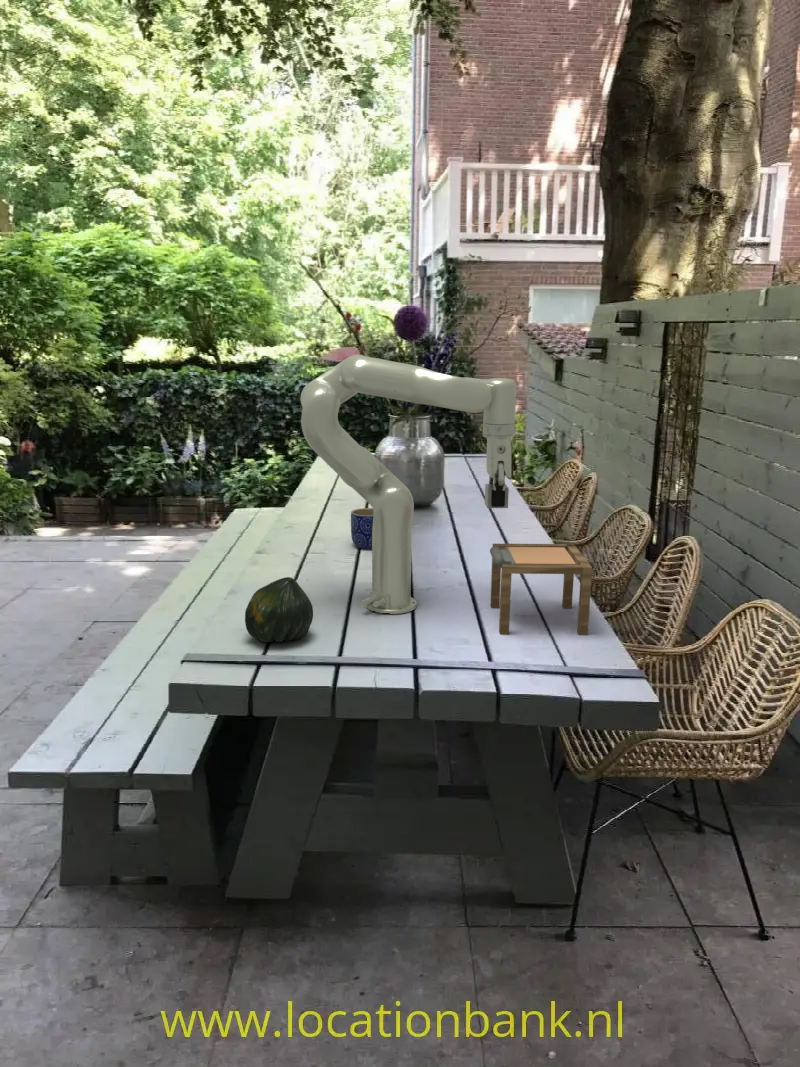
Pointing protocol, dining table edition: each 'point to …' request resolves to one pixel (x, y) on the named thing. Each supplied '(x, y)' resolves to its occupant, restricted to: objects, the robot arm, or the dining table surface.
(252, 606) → the squash
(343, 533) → the dining table surface
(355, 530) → the planter
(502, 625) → the frame
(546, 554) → the trapdoor
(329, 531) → the dining table surface
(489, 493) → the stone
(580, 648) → the dining table surface
